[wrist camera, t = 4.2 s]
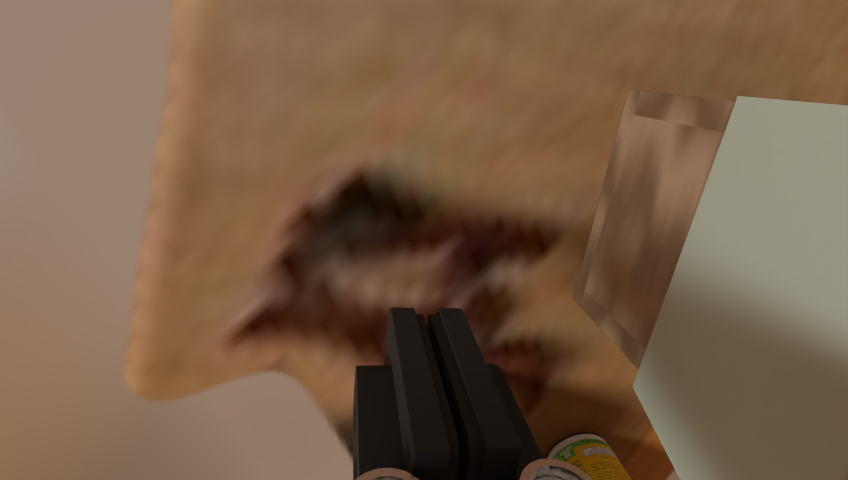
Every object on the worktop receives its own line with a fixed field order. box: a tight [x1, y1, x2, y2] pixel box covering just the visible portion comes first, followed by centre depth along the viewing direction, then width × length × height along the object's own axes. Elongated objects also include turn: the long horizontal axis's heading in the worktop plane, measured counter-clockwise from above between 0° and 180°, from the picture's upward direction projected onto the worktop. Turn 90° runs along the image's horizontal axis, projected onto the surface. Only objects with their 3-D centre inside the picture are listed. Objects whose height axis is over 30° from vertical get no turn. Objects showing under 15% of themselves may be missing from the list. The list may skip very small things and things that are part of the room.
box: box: [573, 90, 735, 369], centre depth 23 cm, size 13×12×8 cm
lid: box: [633, 96, 848, 480], centre depth 13 cm, size 13×12×2 cm
